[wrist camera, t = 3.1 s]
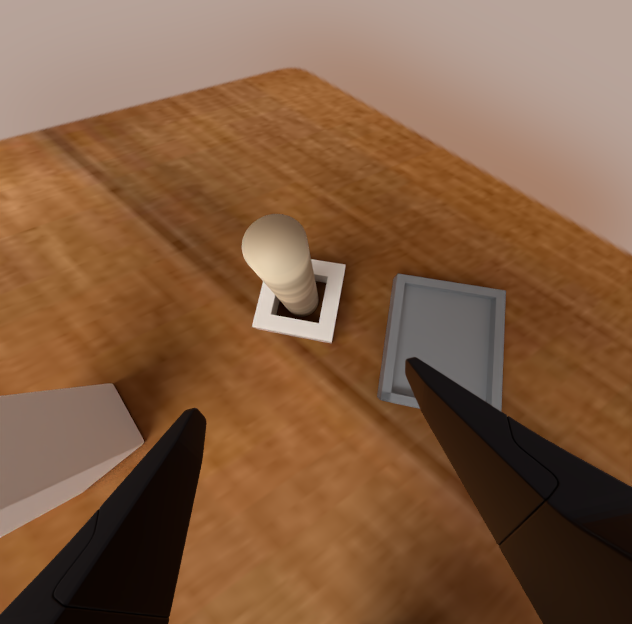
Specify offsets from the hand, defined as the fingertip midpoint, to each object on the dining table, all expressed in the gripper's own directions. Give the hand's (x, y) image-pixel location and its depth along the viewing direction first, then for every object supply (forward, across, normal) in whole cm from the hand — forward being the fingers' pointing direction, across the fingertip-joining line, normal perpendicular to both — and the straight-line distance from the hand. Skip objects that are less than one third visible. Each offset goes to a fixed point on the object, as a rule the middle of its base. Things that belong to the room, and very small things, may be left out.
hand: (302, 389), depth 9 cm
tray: (+9, -12, +9) cm, 18 cm away
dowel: (+14, 0, +4) cm, 15 cm away
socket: (+14, 0, +4) cm, 15 cm away
